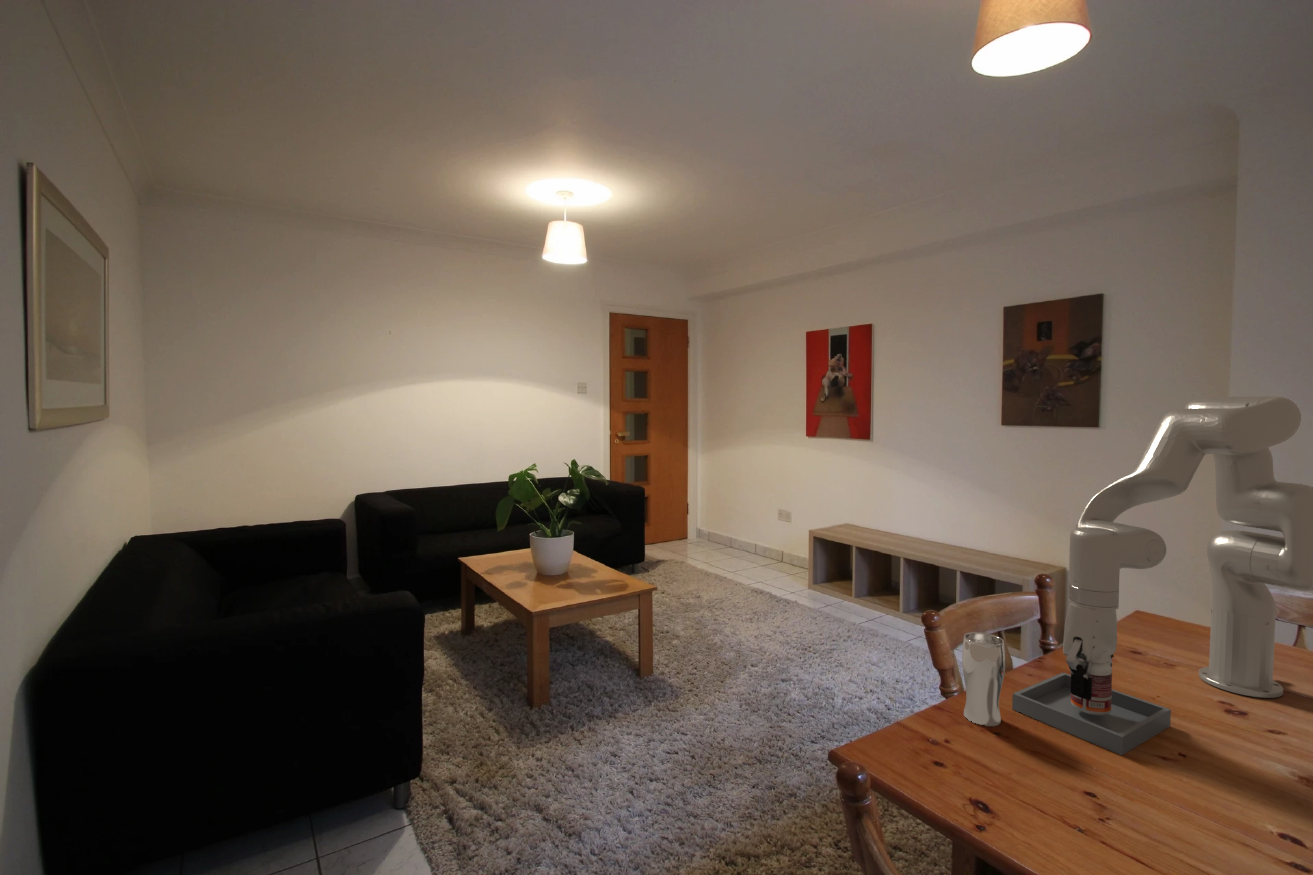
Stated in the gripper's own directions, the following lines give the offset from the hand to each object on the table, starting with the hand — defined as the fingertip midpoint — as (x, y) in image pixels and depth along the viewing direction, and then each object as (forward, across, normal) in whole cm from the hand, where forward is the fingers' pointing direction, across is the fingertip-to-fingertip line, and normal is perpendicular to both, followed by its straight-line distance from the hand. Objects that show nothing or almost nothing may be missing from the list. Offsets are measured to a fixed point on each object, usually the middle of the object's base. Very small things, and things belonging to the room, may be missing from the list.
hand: (1090, 691), depth 114 cm
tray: (+5, 0, 0) cm, 5 cm away
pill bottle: (+3, 0, 0) cm, 3 cm away
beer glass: (+5, +17, -10) cm, 21 cm away
